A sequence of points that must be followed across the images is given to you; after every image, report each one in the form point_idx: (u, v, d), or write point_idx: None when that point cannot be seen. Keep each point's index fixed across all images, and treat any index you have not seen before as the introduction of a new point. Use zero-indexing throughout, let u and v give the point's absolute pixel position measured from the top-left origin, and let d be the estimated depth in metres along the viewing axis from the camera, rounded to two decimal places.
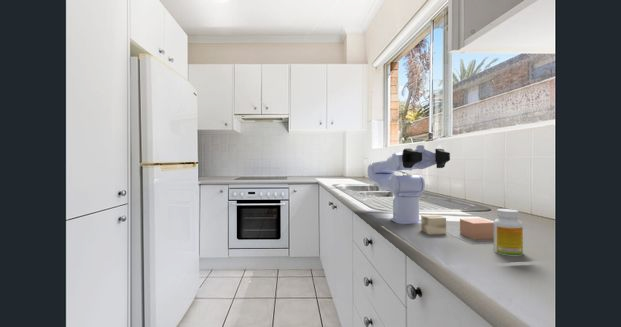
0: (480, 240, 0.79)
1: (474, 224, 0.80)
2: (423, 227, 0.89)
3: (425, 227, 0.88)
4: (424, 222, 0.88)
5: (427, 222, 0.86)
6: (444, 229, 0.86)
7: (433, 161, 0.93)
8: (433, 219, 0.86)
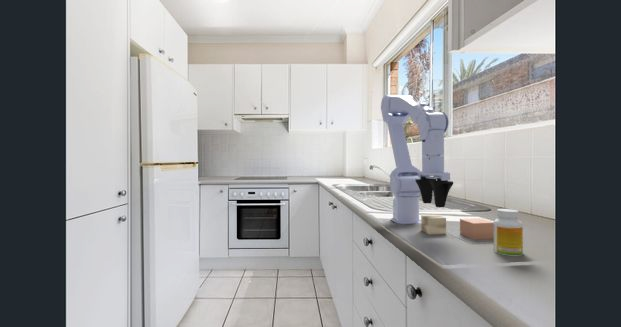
0: (480, 240, 0.79)
1: (474, 224, 0.80)
2: (423, 227, 0.89)
3: (425, 227, 0.88)
4: (424, 222, 0.88)
5: (427, 222, 0.86)
6: (444, 229, 0.86)
7: None
8: (433, 219, 0.86)
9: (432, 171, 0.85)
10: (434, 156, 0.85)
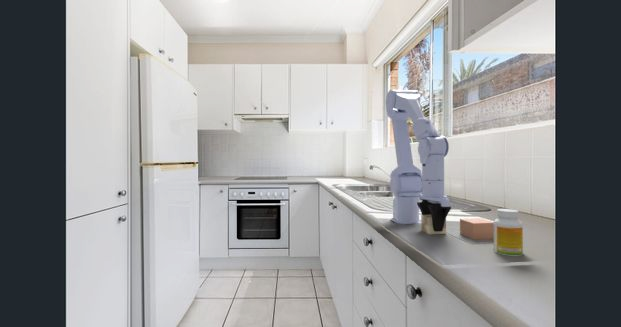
0: (480, 240, 0.79)
1: (474, 224, 0.80)
2: (423, 227, 0.89)
3: (425, 227, 0.88)
4: (424, 222, 0.88)
5: (427, 222, 0.86)
6: (444, 229, 0.86)
7: None
8: None
9: (432, 196, 0.85)
10: (434, 181, 0.85)
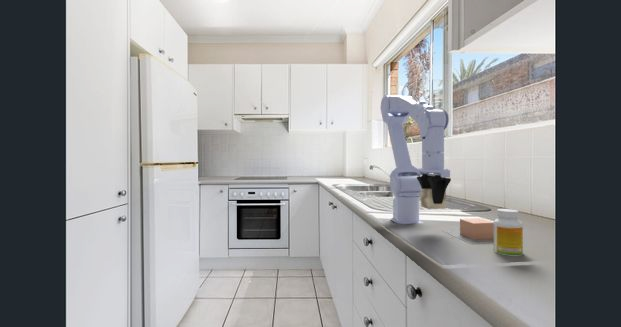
0: (480, 240, 0.79)
1: (474, 224, 0.80)
2: (423, 200, 0.89)
3: (425, 200, 0.88)
4: (424, 195, 0.88)
5: (427, 194, 0.86)
6: (444, 201, 0.86)
7: None
8: None
9: (432, 168, 0.85)
10: (434, 153, 0.85)
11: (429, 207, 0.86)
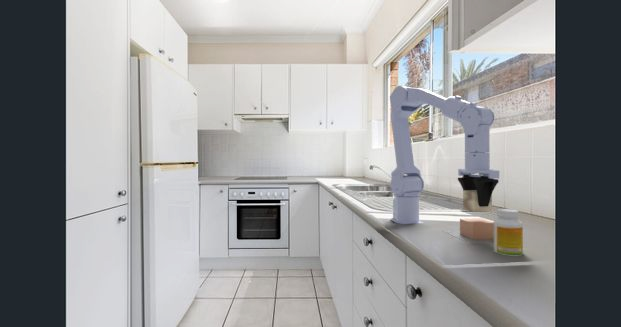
0: (480, 240, 0.79)
1: (474, 224, 0.80)
2: (466, 203, 0.84)
3: (469, 202, 0.82)
4: (467, 197, 0.83)
5: (471, 196, 0.81)
6: (490, 204, 0.81)
7: None
8: None
9: (477, 169, 0.80)
10: (480, 153, 0.80)
11: (474, 210, 0.80)
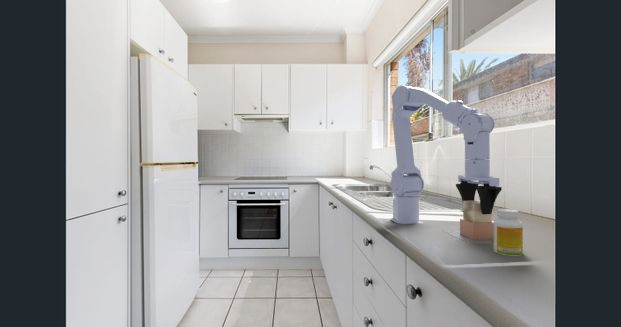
0: (480, 240, 0.79)
1: (474, 224, 0.80)
2: (466, 213, 0.84)
3: (469, 213, 0.82)
4: (467, 208, 0.83)
5: (471, 207, 0.81)
6: (490, 215, 0.81)
7: None
8: (479, 204, 0.80)
9: (477, 176, 0.80)
10: (480, 160, 0.80)
11: (474, 221, 0.80)
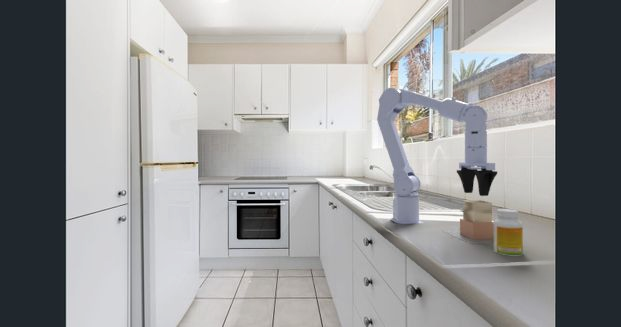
0: (480, 240, 0.79)
1: (474, 224, 0.80)
2: (466, 213, 0.84)
3: (469, 213, 0.82)
4: (467, 208, 0.83)
5: (471, 207, 0.81)
6: (490, 215, 0.81)
7: None
8: (479, 204, 0.80)
9: (476, 162, 0.90)
10: (478, 147, 0.90)
11: (474, 221, 0.80)
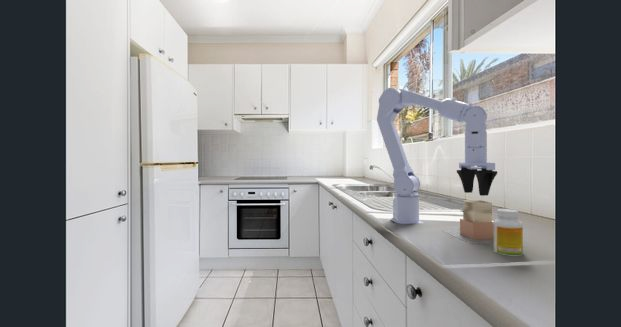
0: (480, 240, 0.79)
1: (474, 224, 0.80)
2: (466, 213, 0.84)
3: (469, 213, 0.82)
4: (467, 208, 0.83)
5: (471, 207, 0.81)
6: (490, 215, 0.81)
7: None
8: (479, 204, 0.80)
9: (476, 162, 0.91)
10: (478, 147, 0.90)
11: (474, 221, 0.80)
